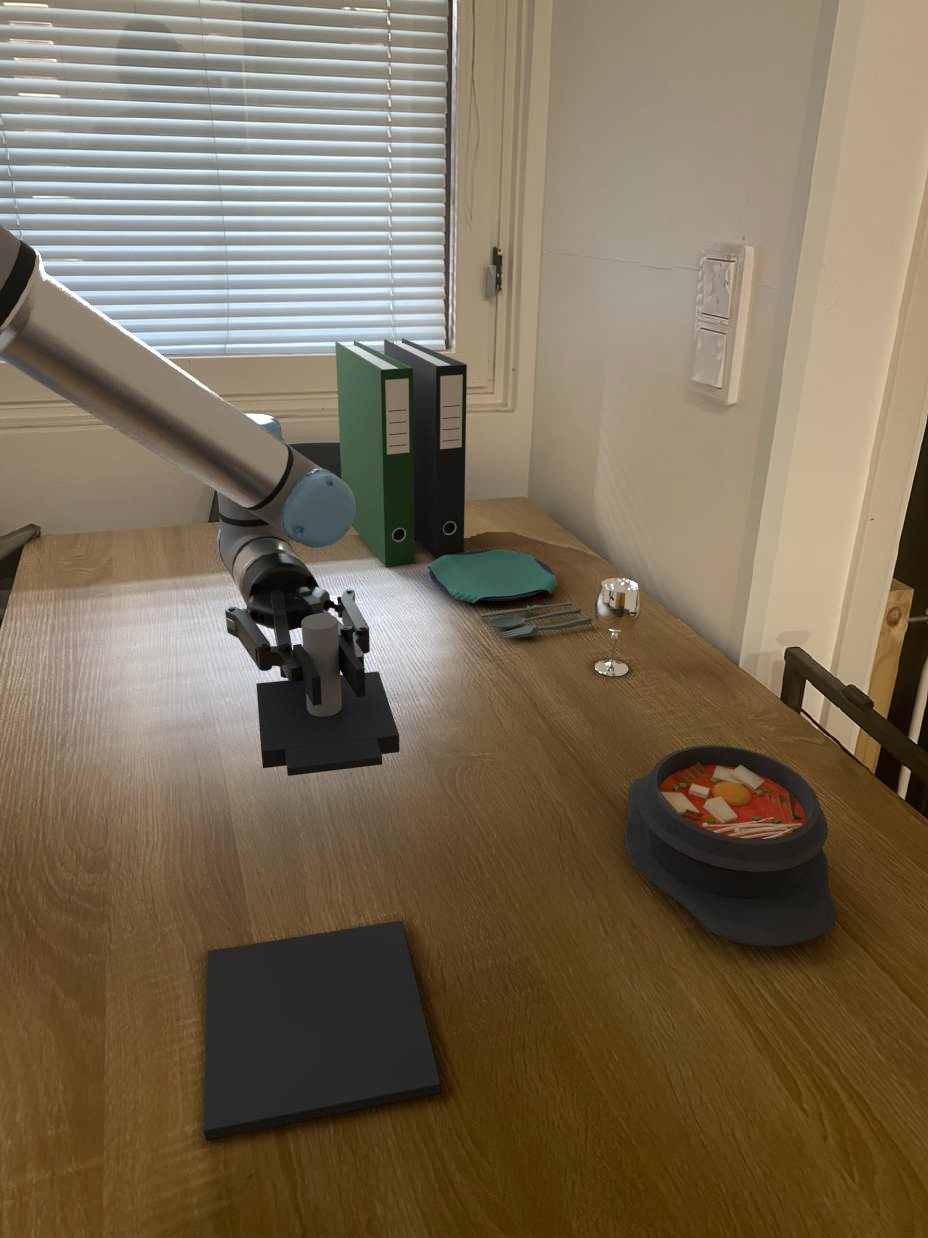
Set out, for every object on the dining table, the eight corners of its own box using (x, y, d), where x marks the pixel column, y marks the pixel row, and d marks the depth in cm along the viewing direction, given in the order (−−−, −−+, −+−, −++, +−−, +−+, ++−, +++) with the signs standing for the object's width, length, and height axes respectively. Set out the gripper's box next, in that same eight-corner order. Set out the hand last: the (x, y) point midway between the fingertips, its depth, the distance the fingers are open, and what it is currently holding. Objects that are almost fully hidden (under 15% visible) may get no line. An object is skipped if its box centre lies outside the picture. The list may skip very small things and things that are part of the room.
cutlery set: (524, 555, 156) (525, 542, 155) (605, 629, 131) (606, 614, 130) (413, 568, 150) (413, 555, 149) (475, 648, 125) (476, 633, 124)
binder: (339, 515, 173) (331, 341, 159) (412, 506, 178) (410, 337, 164) (385, 566, 151) (380, 369, 137) (467, 554, 156) (470, 364, 142)
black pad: (205, 1141, 60) (203, 1131, 60) (209, 959, 74) (207, 950, 74) (440, 1093, 64) (440, 1084, 63) (401, 928, 78) (401, 919, 77)
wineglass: (585, 658, 123) (592, 576, 117) (626, 657, 123) (635, 575, 118) (595, 679, 117) (603, 595, 112) (638, 678, 118) (648, 593, 113)
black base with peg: (264, 789, 76) (253, 676, 71) (257, 699, 89) (248, 598, 84) (405, 771, 79) (404, 661, 74) (379, 686, 92) (376, 588, 87)
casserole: (887, 948, 77) (909, 871, 73) (679, 977, 74) (692, 897, 70) (751, 776, 99) (763, 709, 95) (587, 792, 96) (593, 724, 92)
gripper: (350, 605, 102) (427, 706, 82) (201, 628, 96) (247, 743, 76) (348, 542, 98) (427, 632, 79) (193, 562, 92) (239, 665, 73)
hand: (338, 686), depth 78 cm, fingers closed on black base with peg, 3 cm apart
